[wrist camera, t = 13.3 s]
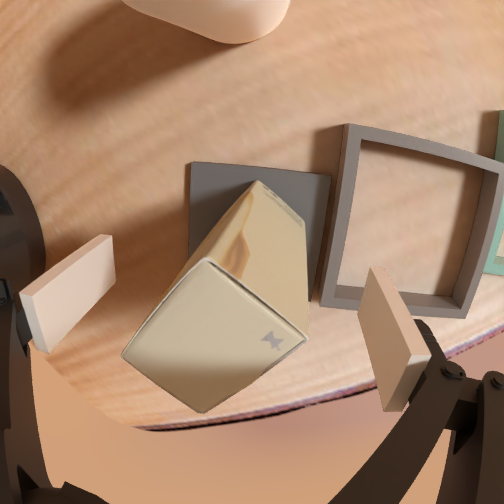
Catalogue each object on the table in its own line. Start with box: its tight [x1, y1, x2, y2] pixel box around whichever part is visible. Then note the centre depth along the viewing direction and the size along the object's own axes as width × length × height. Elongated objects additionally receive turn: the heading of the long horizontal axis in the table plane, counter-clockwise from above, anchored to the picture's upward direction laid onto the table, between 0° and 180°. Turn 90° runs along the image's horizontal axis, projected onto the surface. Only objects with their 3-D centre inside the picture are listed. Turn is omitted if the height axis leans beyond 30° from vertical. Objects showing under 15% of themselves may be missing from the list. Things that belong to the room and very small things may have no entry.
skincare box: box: [121, 180, 309, 414], centre depth 16 cm, size 6×4×12 cm
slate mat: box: [189, 161, 331, 302], centre depth 22 cm, size 9×9×1 cm
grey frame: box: [318, 123, 504, 319], centre depth 20 cm, size 12×12×2 cm
